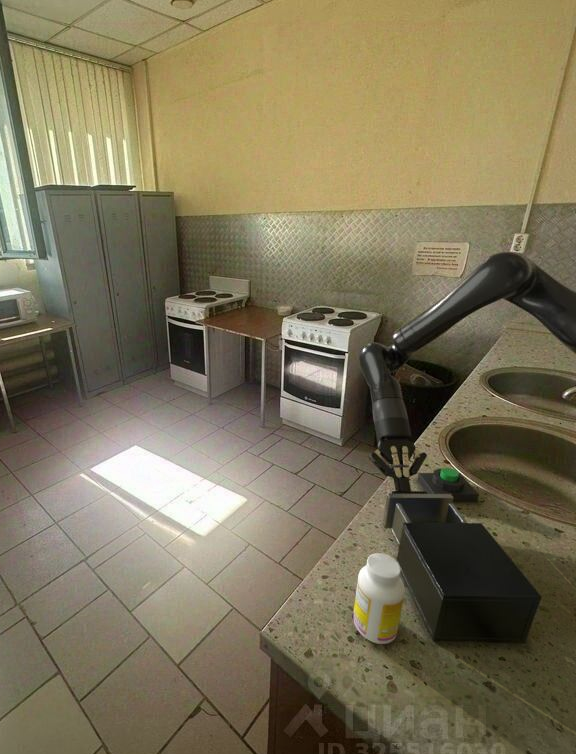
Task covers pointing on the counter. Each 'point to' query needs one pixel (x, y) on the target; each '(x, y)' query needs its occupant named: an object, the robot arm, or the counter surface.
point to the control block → (448, 486)
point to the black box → (465, 584)
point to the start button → (449, 474)
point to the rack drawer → (418, 510)
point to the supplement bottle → (379, 599)
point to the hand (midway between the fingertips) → (404, 495)
